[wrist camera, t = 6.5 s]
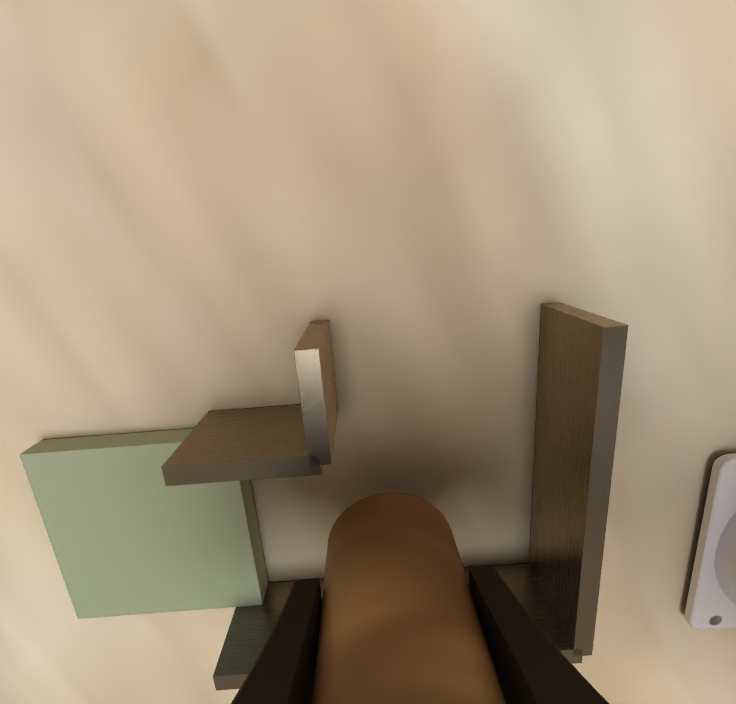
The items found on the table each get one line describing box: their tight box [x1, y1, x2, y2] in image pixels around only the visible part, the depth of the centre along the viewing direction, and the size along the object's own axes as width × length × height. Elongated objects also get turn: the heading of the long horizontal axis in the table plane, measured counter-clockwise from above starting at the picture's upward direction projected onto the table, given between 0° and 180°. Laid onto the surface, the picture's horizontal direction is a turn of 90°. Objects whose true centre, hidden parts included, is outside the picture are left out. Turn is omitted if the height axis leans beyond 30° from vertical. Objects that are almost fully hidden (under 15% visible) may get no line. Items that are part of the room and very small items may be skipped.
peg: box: [312, 493, 506, 704], centre depth 9 cm, size 4×4×8 cm
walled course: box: [161, 303, 628, 690], centre depth 13 cm, size 12×11×4 cm
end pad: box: [20, 428, 268, 619], centre depth 15 cm, size 7×7×1 cm
